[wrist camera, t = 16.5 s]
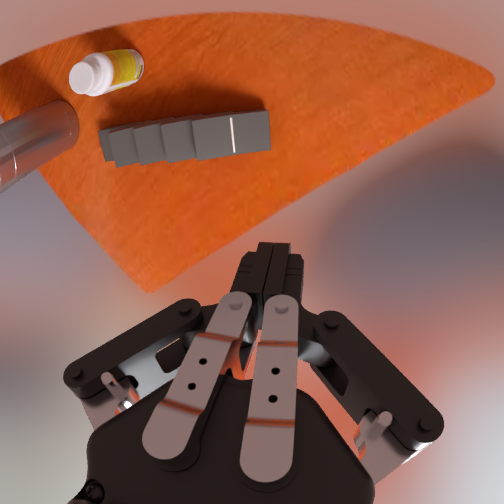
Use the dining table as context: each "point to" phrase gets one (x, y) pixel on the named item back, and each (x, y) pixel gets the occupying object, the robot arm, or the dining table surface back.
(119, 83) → the supplement bottle
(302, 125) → the dining table surface
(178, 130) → the tile
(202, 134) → the lead tile
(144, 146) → the tile
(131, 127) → the tile
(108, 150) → the end tile
